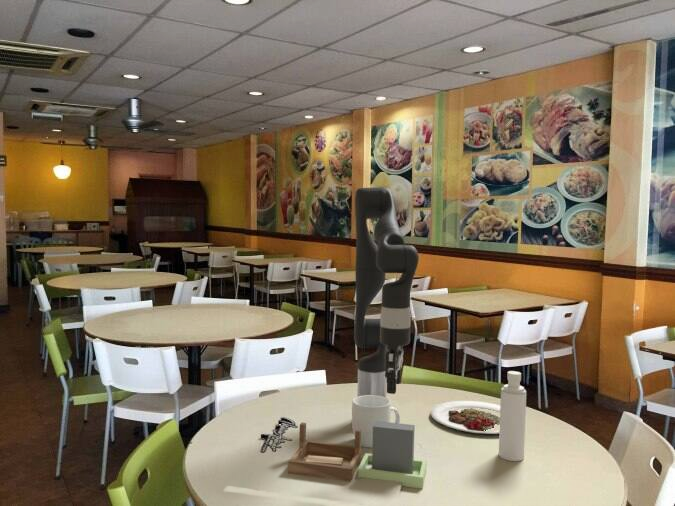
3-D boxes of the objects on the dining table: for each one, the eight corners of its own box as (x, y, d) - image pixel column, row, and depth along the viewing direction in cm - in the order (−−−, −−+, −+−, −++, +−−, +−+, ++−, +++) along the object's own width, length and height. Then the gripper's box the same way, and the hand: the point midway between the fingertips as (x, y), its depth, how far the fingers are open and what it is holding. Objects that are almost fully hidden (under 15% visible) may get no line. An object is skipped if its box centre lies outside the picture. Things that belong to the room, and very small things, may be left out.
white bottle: (505, 462, 150) (508, 370, 149) (494, 451, 157) (497, 364, 156) (528, 460, 151) (532, 369, 150) (516, 450, 158) (520, 363, 157)
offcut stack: (306, 465, 144) (306, 453, 143) (344, 469, 141) (344, 458, 141) (301, 472, 139) (301, 460, 139) (340, 477, 137) (340, 465, 137)
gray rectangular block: (374, 466, 144) (375, 421, 143) (413, 471, 142) (414, 425, 141) (371, 473, 140) (372, 426, 139) (411, 478, 138) (412, 430, 137)
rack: (304, 454, 152) (305, 418, 152) (362, 461, 149) (363, 424, 148) (288, 476, 139) (288, 437, 138) (351, 485, 135) (352, 444, 135)
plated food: (490, 402, 201) (490, 393, 201) (545, 433, 173) (546, 422, 173) (415, 410, 192) (415, 400, 192) (460, 443, 164) (461, 432, 163)
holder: (365, 463, 148) (365, 453, 147) (426, 471, 144) (426, 460, 144) (357, 480, 138) (357, 469, 138) (422, 488, 134) (423, 477, 134)
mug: (388, 434, 169) (389, 391, 168) (408, 447, 159) (409, 402, 158) (344, 441, 162) (345, 397, 161) (362, 456, 152) (363, 409, 152)
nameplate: (269, 416, 178) (300, 417, 178) (269, 421, 179) (300, 422, 178) (251, 451, 151) (288, 453, 151) (251, 457, 151) (288, 458, 151)
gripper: (407, 331, 132) (405, 398, 133) (413, 320, 145) (411, 381, 146) (375, 328, 133) (374, 395, 134) (384, 318, 147) (383, 379, 148)
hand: (393, 388), depth 140 cm, fingers open, 8 cm apart
